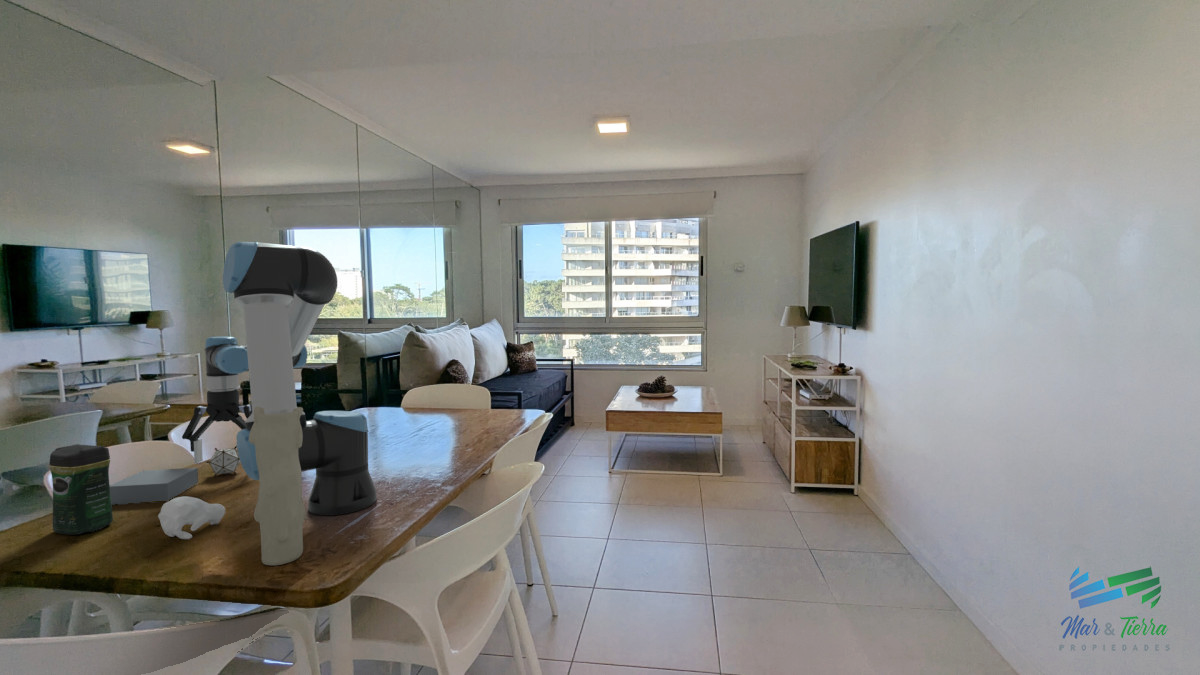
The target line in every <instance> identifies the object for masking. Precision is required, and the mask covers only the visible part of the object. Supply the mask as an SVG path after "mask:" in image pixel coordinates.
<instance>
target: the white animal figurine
mask: <svg viewBox="0 0 1200 675" xmlns="http://www.w3.org/2000/svg"><path fill="white" fill-rule="evenodd" d="M225 514H226V508H225V507H224V505H222V504H220V503H208V502H206V501H204V500H202V499H200V498H197V497H193V496H177V497H175V498H173V499H171V500H170V501H166V502H165V503H163V505H162V506H161V508H160V512H159V513H158V515H157V517H158V519H159V521H160V525H161V528H162V530H163V532H164V534H165V535H167V536H168V537H172V538H173V537H175V536H176V537H177V538H178V539H180V540H191V539H192V538H193V535H192V533H189V532H188V531H183V527H184V526H185V525H187V526H189V525H190V530H191V531H192V532H195V531H196V530H198V529H199V528H200V527H202V526H203V525H204V524H207V523H209V524H210V525H211V526H212V525H217V526H218V524H219V523H220V522H221V520H222V519H223V517H224V516H225ZM190 538H191V539H190Z"/></svg>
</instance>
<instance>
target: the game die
mask: <svg viewBox="0 0 1200 675" xmlns="http://www.w3.org/2000/svg"><path fill="white" fill-rule="evenodd" d="M214 450H215V452H214V453H213V455H212V457H211V458H210V459H209V461H205V463H206V464H209V465H210V467H211V470H212V471H213V472H214V475H213V477H214V476H216V477H217V475H225V474H232V473H233V475H237V473H236V471H237V468H238V467H239V465H240V464H241V461H240V458H239V455H238V450H237V445H236V446H234V448H233V447H231V448H223V449H218V448H217V447H214Z"/></svg>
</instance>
